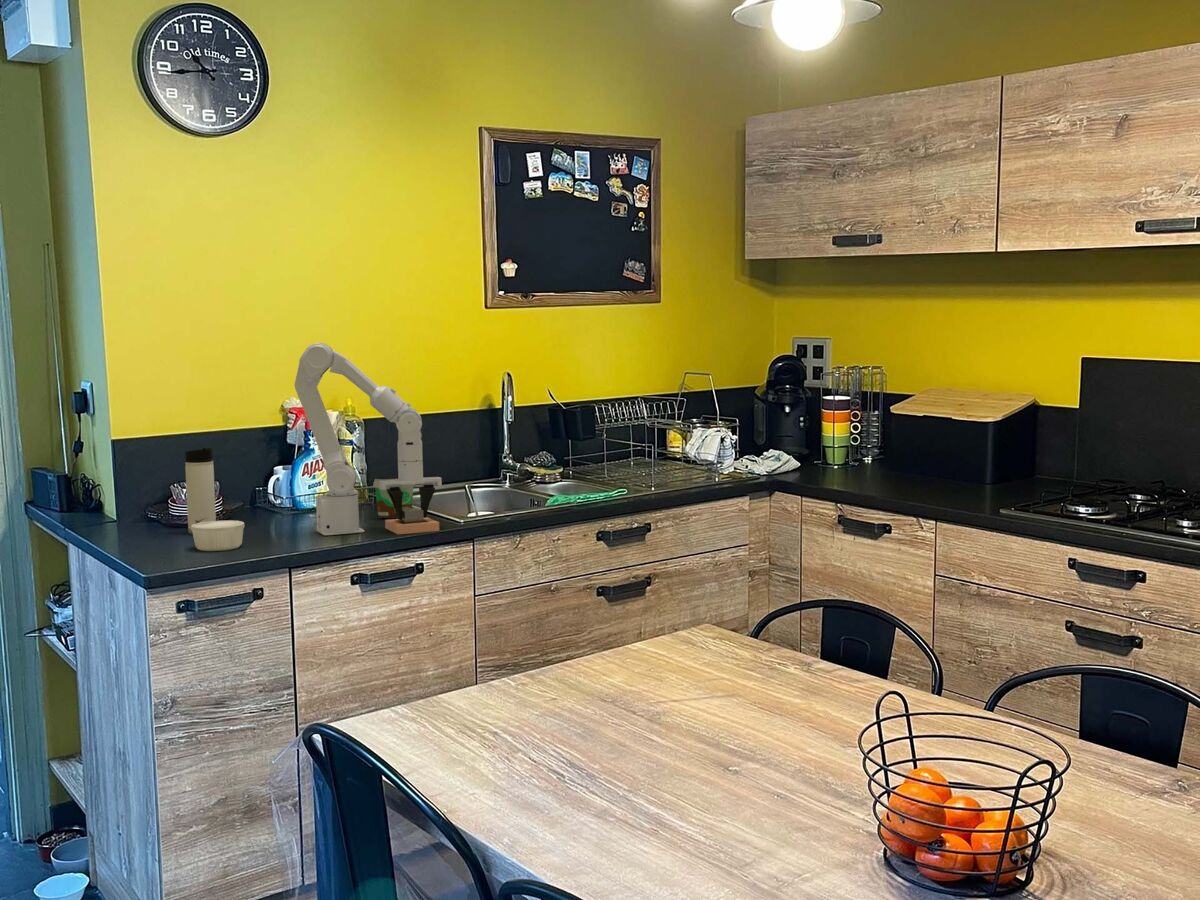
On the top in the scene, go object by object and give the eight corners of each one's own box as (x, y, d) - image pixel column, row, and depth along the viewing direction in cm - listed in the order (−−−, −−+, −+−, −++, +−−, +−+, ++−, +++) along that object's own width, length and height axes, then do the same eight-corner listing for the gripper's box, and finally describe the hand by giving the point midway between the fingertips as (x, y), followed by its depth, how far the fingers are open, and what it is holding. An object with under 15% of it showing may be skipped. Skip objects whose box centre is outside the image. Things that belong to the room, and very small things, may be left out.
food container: (391, 521, 292) (389, 480, 291) (374, 519, 296) (372, 479, 295) (427, 514, 302) (426, 475, 301) (410, 512, 306) (409, 474, 305)
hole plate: (397, 534, 272) (397, 525, 272) (385, 528, 281) (385, 520, 281) (439, 530, 277) (439, 522, 277) (425, 524, 286) (425, 516, 286)
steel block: (405, 532, 276) (404, 511, 276) (399, 529, 280) (399, 508, 280) (424, 530, 278) (423, 509, 278) (418, 528, 282) (417, 507, 282)
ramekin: (212, 542, 266) (210, 519, 265) (255, 544, 262) (254, 520, 262) (180, 551, 255) (179, 527, 254) (226, 553, 252) (225, 528, 251)
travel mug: (201, 535, 275) (197, 449, 273) (182, 532, 278) (178, 447, 276) (223, 531, 280) (219, 446, 278) (204, 529, 283) (200, 445, 281)
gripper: (434, 457, 284) (435, 513, 286) (375, 460, 278) (376, 518, 279) (444, 460, 278) (445, 517, 279) (383, 463, 272) (385, 522, 273)
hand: (411, 518), depth 279 cm, fingers open, 5 cm apart
